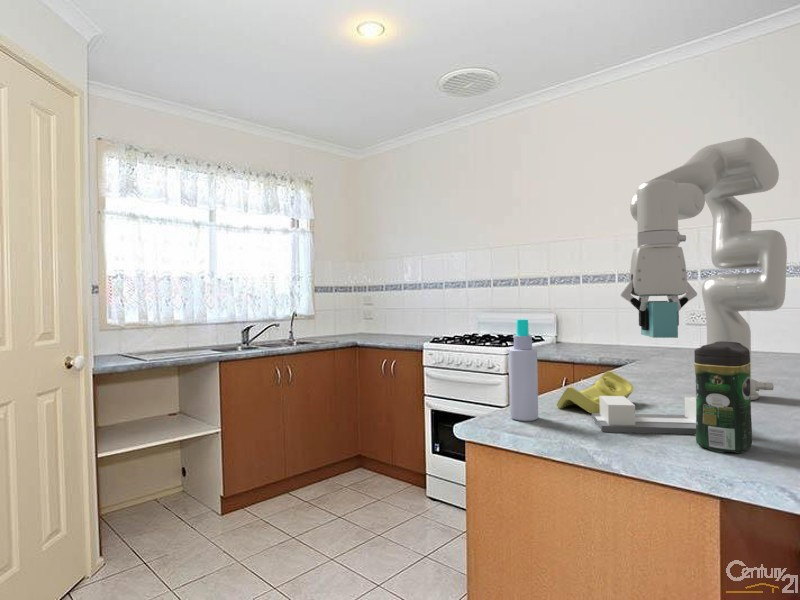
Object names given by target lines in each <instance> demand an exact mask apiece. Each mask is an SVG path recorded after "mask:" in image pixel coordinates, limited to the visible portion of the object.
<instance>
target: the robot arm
mask: <svg viewBox="0 0 800 600" xmlns="http://www.w3.org/2000/svg"><path fill="white" fill-rule="evenodd" d="M779 176H780V173H779V167H778V164H777V162H776V160H775V159H774V157H773V156H772V155H771V153H770V152H769V150H767V148H766V147H765V145H763V144H762V143H761V142H760V141H759V140H757V139H755V138H752V137H740V138H736V139H732V140H727V141H723V142H717V143H713V144H710V145H706V146H704V147H702V148H700V149H699V150H698V151H696V152H695V153H694V154H693V155H692V156H691V157H690V158H689V159H688V160H687V161H686V162H685V163H684V164H682V165H680V166H678V167H676V168H674V169H671V170H669V171H667V172H665V173H663V174H661V175H658V176H656V177H654V178H652V179H650V180H649V181H645V182H643V183H641V184H640V185H639V186H638V187H637V190H636V192H634V194H633V196H632V197H631V201H630V207H629V208H630V209H629V211H630V215H631V217H632V218H633V220H634V221H635V222H636V223H637V226H636V227H637V231H636V232H637V248H634V249H633V250H632V252H631V253H632V254H631V260H630V269H629V271H630V272H629V283H628V284H627V285H626V287H625V288H624V289H623V290H622V292H621V294H620V297H621V298H622V299H624V300H626V301H627V302H629V303H630V305H632V306H633V307H634V308H635V309H636V310H637V311H638V326H639V327H640V329H641V328H642V330H649V312H648V311H647V308H646V307H647V303H648V301H649V298H650V297H663V296H664V297H665V296H666V298H667V301H668V302H678V326H679V324H680V323H679V322H680V320H679V318H680V315H679V314H680V313H679V311H681V309H682V308H683V307H684V306H685V305H686V304H687V303H688V302H690V301H691V300H692V299H694V298H695V297H697V296H698V293H697V291H696V290H695V289H694V288H693V286H692V285H691V284H690V283H689V281H688V274H687V265H686V260H685V255H684V250H683V247H682V246H679V245H680V243H682V242H686V241H687V236H686V235H685V234H681V233H680V231H679V221H680V220H681V221H682V220H687V219H688V220H689V219H692V218H695V217H697V216H698V215H699V214H701V212H703V210H704V208H705V204H706V205H707V207H708V209H709V211H710V213H711V216H712V235H711V249H710V250H711V251H710V252H711V254H710V255H711V263H712V265H713V266H714V267H715V268H717V269H719V270H720V269H721V270H748V269H749V270H753V269H760V270H761V272H746V273H745V272H744V273H743V272H737V273H735V272H734V273H719V274H716V275H715V274H714V275H711V276H709V277H708V278H706V279H705V280H704V282H703V283H702V286H701V295H702V301H703V306H704V312H705V319H706V320H705V321H706V323H705V324H706V345H708V344H712V343H715V342H719V341H725V342H737V343H740V344H741V345H743V346H745V347H746V348H748V349H749V352H750V396H751V401H754V400H758V399H759V398H760V394H759V391H762V390H764V391H773V390H774V388H775V387H774V383H773V382H766V381H765V382H762V381H757V380H756V379H754V378H752V345H751V344H752V343H751V341H752V339H751V338H752V337H751V333H752V331H751V327H750V325H749V323H748V322H747V320H746V319H745V318H744V316H743V315H741V314H740V313H739V312H771V311H772V312H773V311H776V310H779V309H780V308H782V306H783V305H784V302H785V298H786V285H787V284H786V283H787V282H786V281H787V261H788V260H787V258H788V256H787V255H788V252H787V251H788V247H787V242H786V239H785V236H784V235H783V234H782V233H781V232H780V231H778V230H775V229H761V230H752V219H753V218H752V217H753V216H752V213H751V211H750V210H749V208H748V207H747V206H746V205H745V204H744V203H742V202H741V201H740V200H738V199H737V198H736V196H737V197H738V196H744V195H751V194H757V193H765V192H768V191H771V190H772V189H774V188H775V187H776V185H777V183H778V181H779ZM682 295H683V296H682ZM634 296H636V297H638V298H636V297H634ZM679 296H682V297H679Z"/></svg>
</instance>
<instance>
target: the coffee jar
mask: <svg viewBox="0 0 800 600" xmlns="http://www.w3.org/2000/svg"><path fill="white" fill-rule="evenodd" d="M693 354H694V363H693V364H694V373H695V397H696V435H695V440H696V441H695V442H696V444H697V446H699V447H702V448H705V449H708V450H710V451H714V452H718V453H736V454H737V453H738V454H739V453H742V452H743V453H744V452H745V451H747V450H749V448H750V447H751V446H752V444H753V429H752V428H753V427H752V400H751V396H750V352H749V349H748V348H746V347H745V346H743V345H741V344H740V343H737V342H725V341H719V342H715V343H712V344H708V345H707V344H705V345H701V346H700V347H698V348H694V353H693Z"/></svg>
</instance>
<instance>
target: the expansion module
mask: <svg viewBox="0 0 800 600" xmlns="http://www.w3.org/2000/svg"><path fill="white" fill-rule="evenodd" d="M646 308H647V311H648V312H649V330H642V328H641V327H640V335H643V336H646V337H650V338H653V339H655V338H656V339H658V338H662V339H663V338H664V339H665V338H667V339H668V338H669V339H670V338H673V339H674V338H675V339H677V338H679V325H678V302H669V301H668V300H648V303H647V307H646Z"/></svg>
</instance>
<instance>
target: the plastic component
mask: <svg viewBox="0 0 800 600" xmlns="http://www.w3.org/2000/svg"><path fill="white" fill-rule="evenodd" d="M633 391H634V386H633V385H632V383H631V382H630V381H629V380H627V379H625V378H624V377H623V376H621V375H618V374H617V373H615V372H613V371H612V370H610V371H605V372H604V373H603V374H602V375H601V377H599V378H598V379H597V381H596V382H594V384H592V385H591V386H590V387H587V388H586V389H583V390H581V391H579V390H578V389H576V388H575V387H572V386H569V387H566V388H565V390H564V391H563V393H562V395H561V396H560V398H559V399H558V402H557V403H556V407H557V408H559V409H564V408H563V407H565V406H567V407H569V406H572V405H574V404H575V405H577V406H579V407H580V408H581V409H583V410H584V411H586V412H588V413H589V414H591V413H600V401H599V396H624V397H626V398H627V399H628V398H629V397H630V395H631V394H632V392H633ZM571 404H572V405H571ZM568 405H569V406H568ZM565 408H566V407H565Z"/></svg>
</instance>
